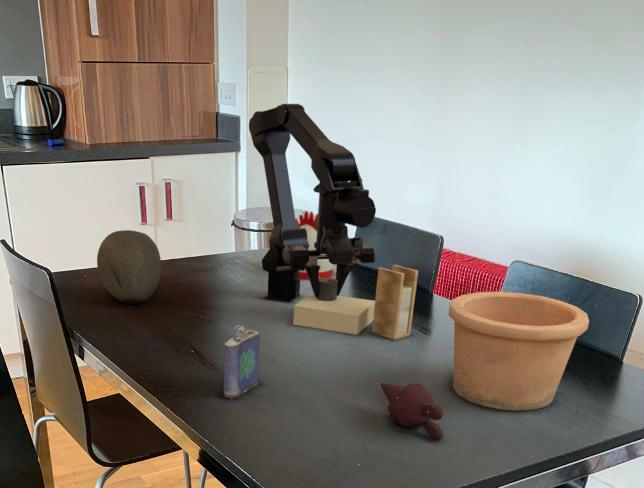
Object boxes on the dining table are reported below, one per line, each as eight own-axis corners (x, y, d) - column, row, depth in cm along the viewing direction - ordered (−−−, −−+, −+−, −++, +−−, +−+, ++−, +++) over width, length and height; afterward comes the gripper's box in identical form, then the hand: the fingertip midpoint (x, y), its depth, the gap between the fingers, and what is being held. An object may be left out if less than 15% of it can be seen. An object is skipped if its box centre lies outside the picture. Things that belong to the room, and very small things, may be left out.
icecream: (360, 374, 121) (420, 417, 111) (399, 356, 123) (462, 397, 113) (363, 411, 126) (421, 455, 115) (401, 393, 128) (461, 435, 117)
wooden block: (291, 324, 163) (292, 304, 161) (313, 309, 174) (314, 290, 171) (356, 334, 159) (358, 314, 157) (375, 318, 169) (377, 299, 167)
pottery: (481, 361, 147) (495, 284, 140) (592, 395, 134) (613, 312, 127) (412, 389, 134) (423, 305, 126) (527, 430, 120) (547, 339, 113)
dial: (313, 299, 166) (314, 279, 164) (320, 294, 169) (321, 275, 167) (332, 302, 164) (334, 282, 162) (339, 297, 168) (341, 277, 166)
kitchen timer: (315, 282, 194) (318, 218, 186) (268, 273, 200) (270, 211, 193) (342, 272, 204) (346, 211, 196) (297, 263, 210) (300, 204, 203)
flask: (233, 399, 127) (234, 335, 121) (218, 396, 128) (217, 332, 123) (261, 382, 134) (263, 321, 129) (246, 379, 135) (247, 318, 130)
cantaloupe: (175, 304, 173) (172, 234, 165) (115, 313, 166) (110, 240, 158) (146, 290, 183) (143, 222, 175) (89, 297, 176) (83, 227, 168)
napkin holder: (371, 332, 160) (378, 267, 154) (388, 328, 163) (395, 264, 157) (394, 340, 157) (401, 274, 150) (410, 335, 159) (418, 270, 153)
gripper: (300, 227, 149) (296, 308, 157) (390, 225, 154) (381, 304, 162) (283, 216, 159) (280, 294, 167) (368, 215, 163) (361, 290, 171)
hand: (326, 295), depth 166 cm, fingers closed on dial, 4 cm apart
